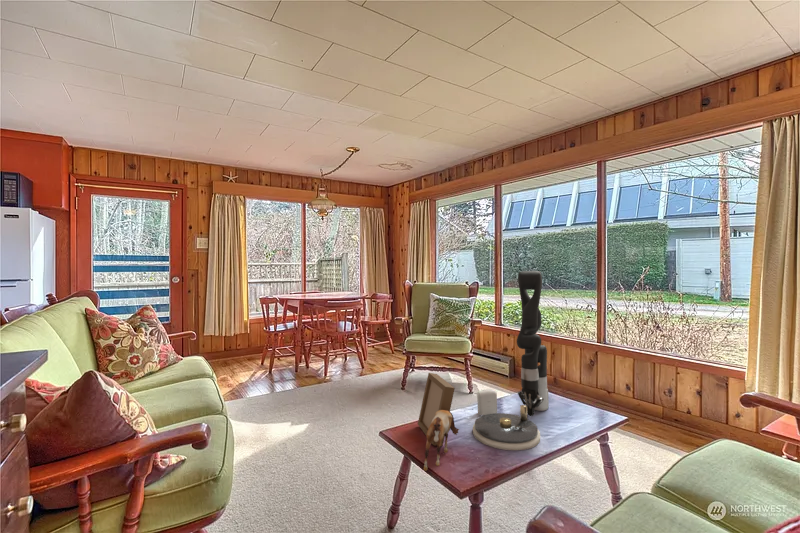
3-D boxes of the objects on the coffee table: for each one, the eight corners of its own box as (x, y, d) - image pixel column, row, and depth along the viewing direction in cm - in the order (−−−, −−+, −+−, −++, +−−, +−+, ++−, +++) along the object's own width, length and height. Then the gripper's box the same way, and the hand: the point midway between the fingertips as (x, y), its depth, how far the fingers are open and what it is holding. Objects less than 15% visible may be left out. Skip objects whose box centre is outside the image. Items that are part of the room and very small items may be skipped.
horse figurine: (434, 481, 130) (439, 424, 130) (414, 474, 134) (419, 418, 133) (458, 442, 159) (462, 395, 158) (441, 437, 162) (445, 391, 161)
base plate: (506, 416, 185) (505, 412, 185) (555, 439, 160) (554, 434, 160) (459, 429, 171) (459, 425, 171) (505, 457, 146) (505, 452, 146)
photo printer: (480, 416, 186) (479, 391, 186) (476, 413, 190) (475, 389, 190) (498, 414, 188) (498, 389, 188) (494, 410, 192) (494, 387, 192)
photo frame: (433, 447, 154) (432, 387, 155) (417, 426, 175) (417, 373, 176) (465, 443, 158) (465, 384, 158) (446, 422, 179) (446, 371, 179)
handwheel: (504, 412, 184) (503, 397, 184) (551, 432, 161) (550, 415, 161) (462, 425, 170) (462, 408, 170) (507, 449, 147) (507, 430, 147)
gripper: (547, 379, 165) (548, 418, 165) (523, 372, 176) (524, 409, 176) (536, 382, 161) (537, 422, 161) (512, 375, 172) (513, 412, 172)
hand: (530, 415), depth 168 cm, fingers closed
